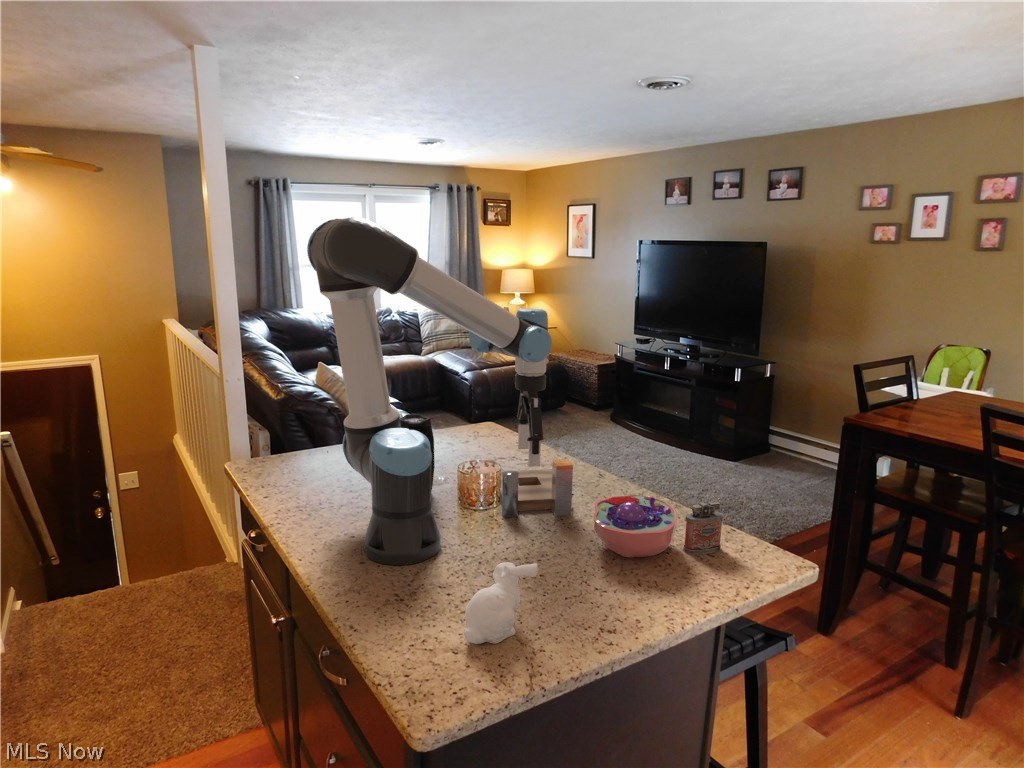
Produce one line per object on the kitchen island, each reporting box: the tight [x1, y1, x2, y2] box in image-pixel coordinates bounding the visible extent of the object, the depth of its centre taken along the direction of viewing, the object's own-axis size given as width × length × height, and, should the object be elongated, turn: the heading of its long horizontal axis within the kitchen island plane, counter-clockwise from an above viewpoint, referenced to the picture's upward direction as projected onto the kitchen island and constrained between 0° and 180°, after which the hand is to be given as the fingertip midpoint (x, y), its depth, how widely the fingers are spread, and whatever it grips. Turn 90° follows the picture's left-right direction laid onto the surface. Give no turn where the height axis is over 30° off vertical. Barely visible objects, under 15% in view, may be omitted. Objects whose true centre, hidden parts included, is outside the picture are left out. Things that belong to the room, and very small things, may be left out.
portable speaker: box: [400, 413, 435, 492], centre depth 151 cm, size 9×9×20 cm
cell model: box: [593, 494, 678, 558], centre depth 125 cm, size 17×20×11 cm
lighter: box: [682, 501, 724, 555], centre depth 126 cm, size 8×3×10 cm, turn 105°
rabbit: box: [463, 561, 538, 645], centre depth 97 cm, size 12×9×12 cm
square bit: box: [550, 459, 574, 517], centre depth 143 cm, size 4×4×12 cm
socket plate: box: [499, 468, 552, 512], centre depth 155 cm, size 20×16×2 cm
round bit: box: [501, 470, 519, 519], centre depth 141 cm, size 4×4×10 cm
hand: (528, 457), depth 155 cm, fingers open, 13 cm apart
